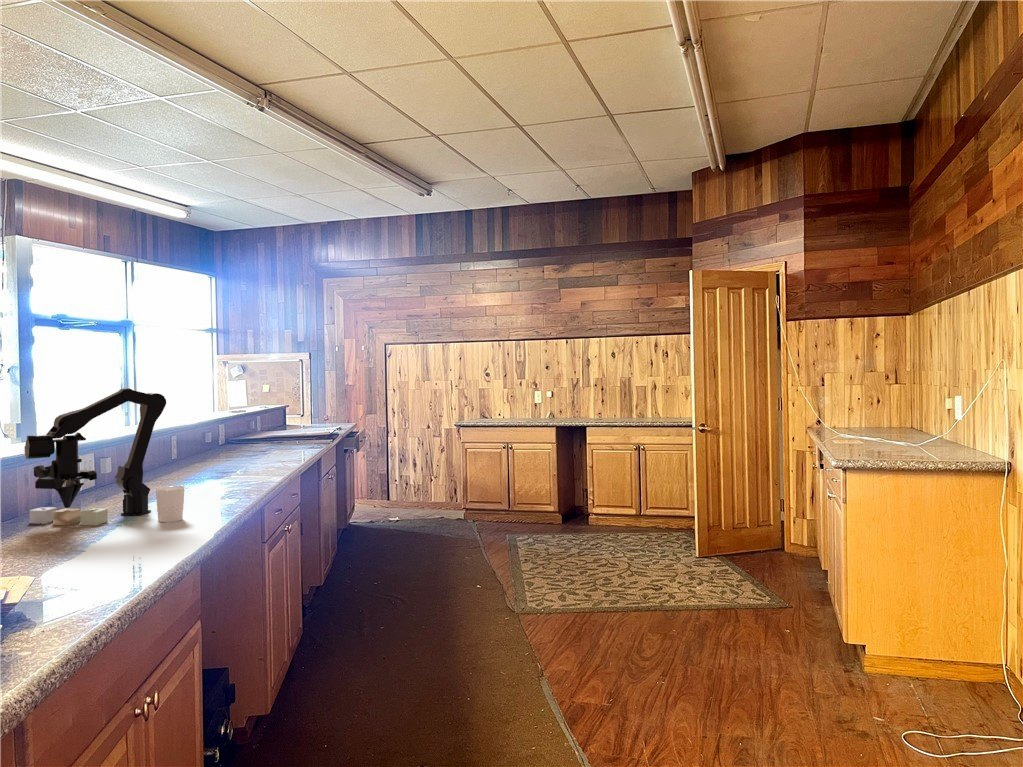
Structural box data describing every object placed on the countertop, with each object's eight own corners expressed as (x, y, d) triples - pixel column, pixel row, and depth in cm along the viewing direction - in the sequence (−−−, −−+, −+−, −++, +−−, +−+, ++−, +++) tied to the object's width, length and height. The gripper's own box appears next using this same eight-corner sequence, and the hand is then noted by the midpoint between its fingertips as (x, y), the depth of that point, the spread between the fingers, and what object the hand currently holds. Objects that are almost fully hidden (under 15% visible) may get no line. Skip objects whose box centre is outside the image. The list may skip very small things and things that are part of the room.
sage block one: (107, 521, 213) (107, 508, 213) (96, 525, 208) (96, 511, 208) (92, 521, 213) (91, 508, 213) (80, 525, 208) (80, 511, 208)
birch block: (80, 521, 213) (80, 508, 213) (68, 525, 208) (68, 512, 208) (65, 521, 213) (65, 508, 213) (53, 525, 208) (53, 511, 208)
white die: (57, 520, 214) (57, 507, 214) (45, 524, 209) (45, 510, 209) (42, 520, 215) (42, 506, 215) (29, 523, 210) (29, 510, 210)
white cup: (150, 521, 214) (150, 488, 214) (173, 516, 221) (173, 484, 221) (167, 523, 210) (167, 490, 210) (190, 519, 217) (190, 487, 217)
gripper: (64, 451, 220) (65, 501, 221) (17, 459, 202) (17, 513, 202) (97, 452, 219) (98, 502, 219) (53, 460, 201) (53, 514, 201)
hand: (67, 507), depth 210 cm, fingers closed
